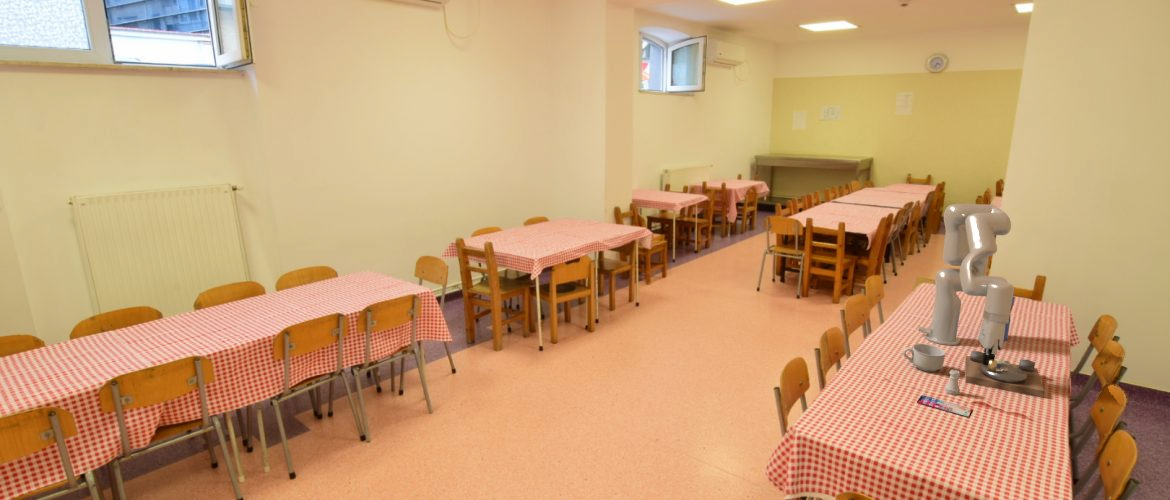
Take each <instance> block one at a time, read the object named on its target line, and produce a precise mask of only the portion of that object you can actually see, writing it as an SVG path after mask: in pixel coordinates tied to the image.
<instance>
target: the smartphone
mask: <svg viewBox="0 0 1170 500" xmlns="http://www.w3.org/2000/svg"><path fill="white" fill-rule="evenodd" d="M916 403H917V404H919V405H921V406H925V407H929V408H932V409H935V410H939V411H942V412H946V413H949V414H952V415H957V416H959V417H964V418H970V417H971V416H972V413H973V412H974V410H973V408H971V407H967V406H964V405H960V404H956V403H953V402H950V401H946V400H942V399H940V398H939V399H938V398H934V397H931V396H927V395H921V396H920V397H919V398H918V399H917V400H916Z"/></svg>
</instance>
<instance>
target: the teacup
mask: <svg viewBox="0 0 1170 500" xmlns="http://www.w3.org/2000/svg"><path fill="white" fill-rule="evenodd" d="M907 352H910V353H911V357H910V356H908V355H907ZM902 355H903V356H904V357H905V359H907V360H908V361H909V362H910V363H911V364H913V366H915V367H916V368H917V369H918V370H921V371H923V372H930V373H931V372H933V373H934V372H937V371H938V370H940V369H942V368H943V366H944V361H945V356H946V351H945V350H944V349H943V348H941V347H939V346H937V345H932V344H928V343H915V344H913V345H912V348H911V347H905V348H904V349H903V350H902Z"/></svg>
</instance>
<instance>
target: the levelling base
mask: <svg viewBox="0 0 1170 500" xmlns="http://www.w3.org/2000/svg"><path fill="white" fill-rule="evenodd" d="M983 353H984V352H982V351H977V350H971V352H970V356H969V355H965V358H964V359H965V360H964V369H965V370H964V372H965V373H964V376H965V377H964V379H965V383H967V384H972V385H977V386H981V387H987V388H992V389H997V390H1002V391H1006V392H1012V393H1016V394H1020V395H1021V394H1022V395H1027V396H1032V397H1037V398H1042V399H1044V395H1045V388H1044V386H1043V382H1042V379H1041V377H1040V374H1039V373H1040V372H1039V371H1038V368H1036V367H1035V365H1036V362H1034V361H1033V360H1031V359H1030V360H1029V359H1020V360H1019V364H1015V363H1011V362H1010V361H1007V360H1006V359H1001V358H999V359H998V358H995V359H994V360H996V361H997V363H999V364H1005V365H1009V366H1013V367H1016V368H1018V369H1021V370H1022V371H1024V372H1025V373H1026V374H1027V377H1026V381H1025V382H1024V383H1019V384H1014V383H1006V382H1001V381H997V380H994V379H991V378H989V377H987V376H985V375H984V374H982V372H981V369H982V365H983V363H982V358H983Z"/></svg>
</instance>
